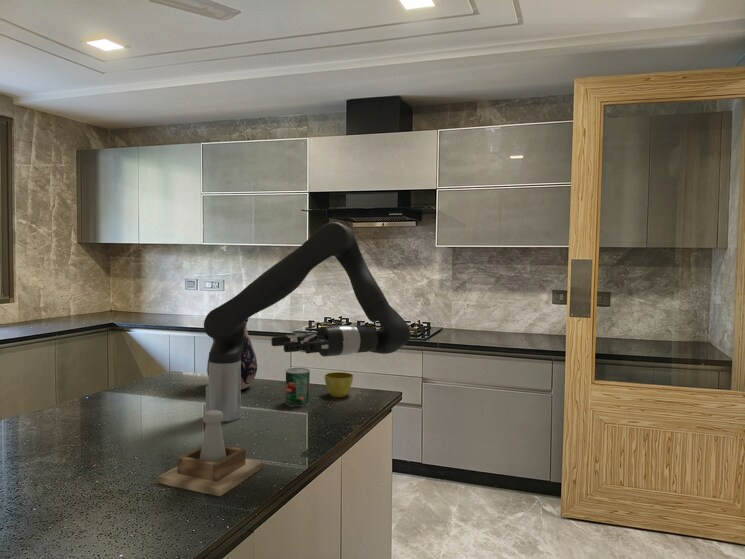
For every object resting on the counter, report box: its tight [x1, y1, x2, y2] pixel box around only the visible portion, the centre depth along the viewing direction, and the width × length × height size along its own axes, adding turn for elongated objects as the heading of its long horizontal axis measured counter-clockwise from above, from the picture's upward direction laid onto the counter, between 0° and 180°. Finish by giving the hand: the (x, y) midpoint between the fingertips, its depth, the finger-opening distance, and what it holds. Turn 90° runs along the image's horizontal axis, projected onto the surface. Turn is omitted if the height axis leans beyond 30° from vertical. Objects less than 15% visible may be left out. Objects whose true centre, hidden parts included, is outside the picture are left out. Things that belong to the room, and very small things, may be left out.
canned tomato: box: [284, 367, 311, 407], centre depth 183 cm, size 8×8×11 cm
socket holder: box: [157, 445, 264, 497], centre depth 124 cm, size 16×16×5 cm
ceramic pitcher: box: [206, 318, 258, 391], centre depth 200 cm, size 18×21×25 cm
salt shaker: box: [200, 410, 226, 463], centre depth 124 cm, size 6×6×13 cm
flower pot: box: [323, 371, 354, 398], centre depth 194 cm, size 10×10×7 cm
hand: (277, 344), depth 133 cm, fingers open, 8 cm apart
